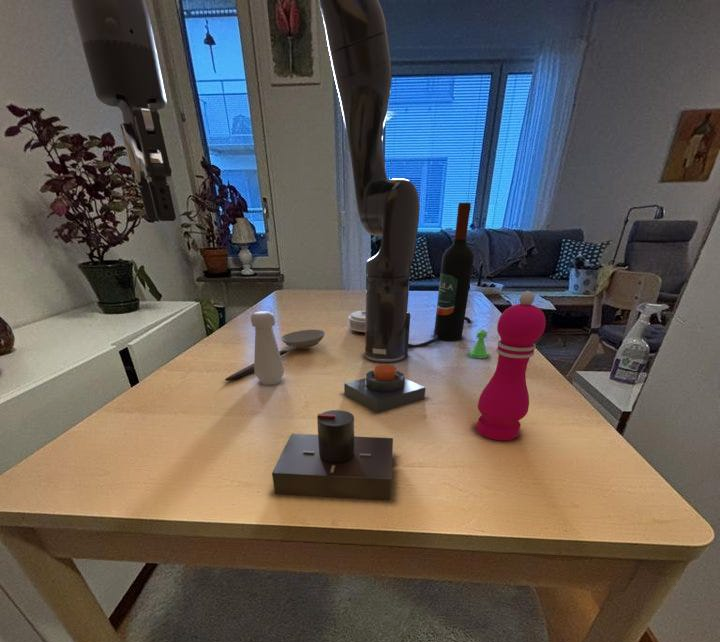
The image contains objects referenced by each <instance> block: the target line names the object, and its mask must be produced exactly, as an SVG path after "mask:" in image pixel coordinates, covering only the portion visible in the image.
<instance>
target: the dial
mask: <svg viewBox="0 0 720 642" xmlns="http://www.w3.org/2000/svg"><path fill="white" fill-rule="evenodd" d="M316 416H317V417H316V423H317V435H318V441H319V455H320V457H321V458H322V459H323V460H325V461H327V462H332V463H340V462H345V461H348V460H350V459H351V458H352V457H353V456H354V436H355V416H354V414H352V413H351V412H349V411H346V410H342V409H341V410H339V409H333V410H332V409H331V410H327V411H323V412H321V413H317V415H316Z"/></svg>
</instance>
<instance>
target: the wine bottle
mask: <svg viewBox="0 0 720 642" xmlns="http://www.w3.org/2000/svg"><path fill="white" fill-rule="evenodd" d="M471 205H472V203H471V202H458V205H457V216H456V224H455V231H454V239H453V242H452V244H451V245H450V246H449V247H447V249H446V250H445V251H444V253H443V254H442V257H441V267H440V274H439V275H440V276H439V285H438V293H437V294H438V295H437V302H436V313H435V322H434V328H433V329H434V330H433V339H434V338H435V336H436V335H438V336H439V338H438V340H437V341H442V342H443V341H444V342H457V341H461V340H462V338H463V331H464V326H465V320H464V319H465V317H466V311H467V306H468V298H469V292H470V285H471V278H472V271H473V266H474V265H473V264H474V254H473V251H472V249H470V246H468V245H467V237H468V236H467V234H468V228H469V219H470V212H471V209H472V208H471V207H472V206H471Z"/></svg>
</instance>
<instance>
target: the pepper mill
mask: <svg viewBox="0 0 720 642" xmlns="http://www.w3.org/2000/svg"><path fill="white" fill-rule="evenodd" d="M535 299H536V298H535V294H534V293H533V292H532V291H530V290H526V291H524V292H523V293H521V295H520V296H519V303H517V304H514V305H511V306H509V307H507V308H506V309H505V310H504V311H502V313H501V315H500V316H499V318H498V322H497V325H496V331H497V334H498V336H499V337H500V340H498V342H497V348H496V350H495V351H496V353H497V354H498V356H497V357H498V358H497V363H496V368H495V371H494V373H493V375H492V377H491V378H490V380H489V381H488V383H487V384H486V385H485V387H484V388H483V390H482V391H481V393H480V395H479V397H478V398H479V399H478V401H477V409H478V411H479V413H480V414H481V415H480V416H479V417H478V419H477V425H476V430H477V432H478V434H480V435H481V436H483V437H485V438H487V439H491V440H495V441H511V440H513V439H514V440H515V439H516V438H517V437H518V436H519V433H520V430H521V422H520V421H521V420H522V419H524V418H525V417H526V416H527V414H528V412H529V407H530V396H529V390H528V385H527V377H526V374H527V368H528V364H529V361H530V358H532V357H533V356H534V355H535V350H536V348H537V344H536V343H535V342H536V341H538V340H539V339H540V338H541V337H542V336H543V334H544V332H545V330H546V322H547V320H546V316H545V313H544V311H543V310H542V309H541V308H540V307H538V306H536V305H533V303H534V302H535Z"/></svg>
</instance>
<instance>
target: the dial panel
mask: <svg viewBox="0 0 720 642" xmlns="http://www.w3.org/2000/svg"><path fill="white" fill-rule="evenodd" d="M393 450H394V437H379V436H378V437H376V436H356V435H354V456H353V457H352V458H351V459H350V460H348V461H345V462H340V463H332V462H327V461H325V460H323V459H322V458H321V457H320V455H319V441H318V434H310V433H309V434H308V433H290V436H289V437H288V439H287V441H286V443H285V446H284V448H283V449H282V452H281V454H280V455H279V456H280V457H279V458H278V460H277V462H276V464H275V466H274V468H273V470H272V472H271V475H272V482H273V490H274V494H278V495H296V496H313V497H329V498H330V497H331V498H348V499H350V498H351V499H368V500H387V501H390V500H391V499H392V497H391V496H392V482H393V454H394V453H393Z"/></svg>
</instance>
